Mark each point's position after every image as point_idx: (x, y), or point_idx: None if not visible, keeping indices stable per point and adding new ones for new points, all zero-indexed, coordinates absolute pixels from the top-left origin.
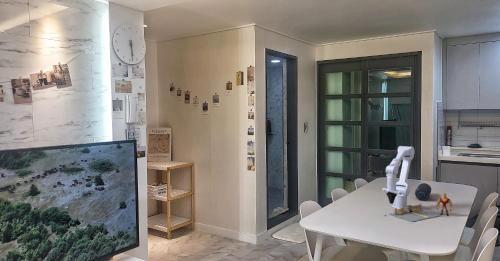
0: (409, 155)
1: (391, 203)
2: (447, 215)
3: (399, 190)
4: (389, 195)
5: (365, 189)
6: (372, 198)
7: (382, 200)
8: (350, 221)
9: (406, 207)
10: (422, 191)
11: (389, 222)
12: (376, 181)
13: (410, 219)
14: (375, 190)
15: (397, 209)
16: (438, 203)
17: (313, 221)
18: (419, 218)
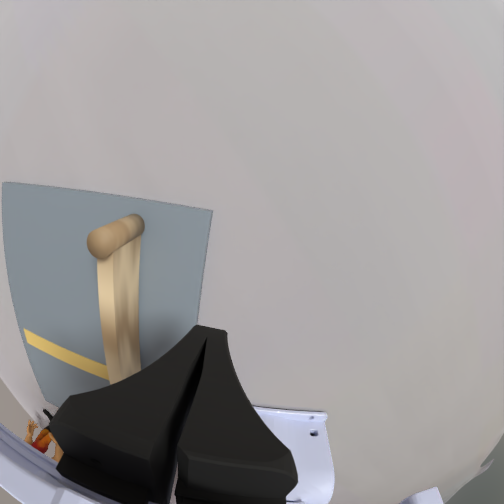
0: None
1: (192, 329)
2: (44, 410)
3: None
4: (158, 417)
5: (483, 453)
6: (463, 425)
7: (417, 444)
8: None
9: (110, 378)
10: None
11: (83, 30)
12: (453, 493)
13: (19, 209)
14: (454, 472)
15: (99, 262)
16: (52, 458)
17: None
18: (18, 280)
